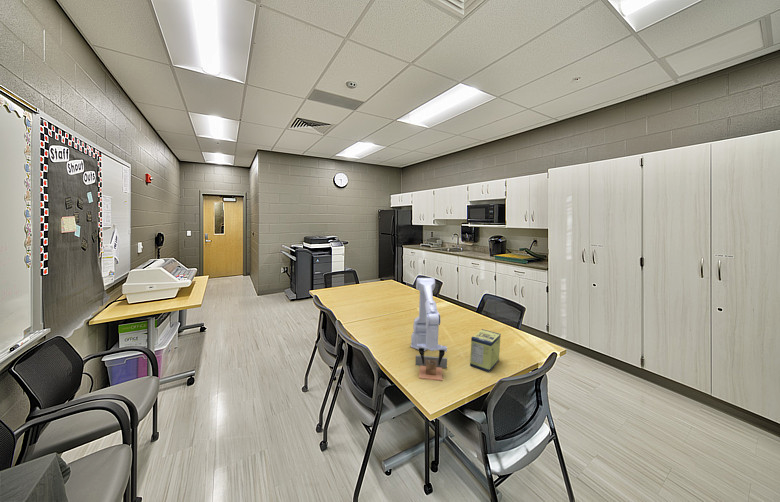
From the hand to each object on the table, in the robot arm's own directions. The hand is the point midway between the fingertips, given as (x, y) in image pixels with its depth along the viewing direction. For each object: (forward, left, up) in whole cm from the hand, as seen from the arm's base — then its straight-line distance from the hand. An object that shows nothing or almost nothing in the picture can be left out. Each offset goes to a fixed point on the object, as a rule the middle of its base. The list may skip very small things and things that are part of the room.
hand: (431, 363), depth 139 cm
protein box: (+15, +28, -5) cm, 32 cm away
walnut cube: (0, 0, -4) cm, 4 cm away
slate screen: (-4, +6, -5) cm, 9 cm away
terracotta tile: (0, 0, -5) cm, 5 cm away
